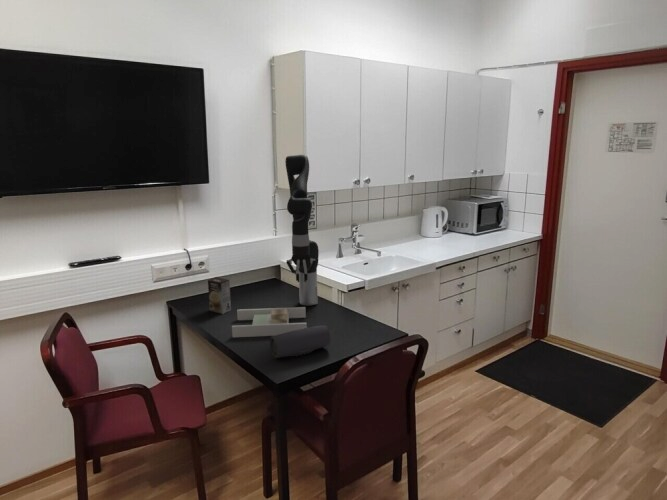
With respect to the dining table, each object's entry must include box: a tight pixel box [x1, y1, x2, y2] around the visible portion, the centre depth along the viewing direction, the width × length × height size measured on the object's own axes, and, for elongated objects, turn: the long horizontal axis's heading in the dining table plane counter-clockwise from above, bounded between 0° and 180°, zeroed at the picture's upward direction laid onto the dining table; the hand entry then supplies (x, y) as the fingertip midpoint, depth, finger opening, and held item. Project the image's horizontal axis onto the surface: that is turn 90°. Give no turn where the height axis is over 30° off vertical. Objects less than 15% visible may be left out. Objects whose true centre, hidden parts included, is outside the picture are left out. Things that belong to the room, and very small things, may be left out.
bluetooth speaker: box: [269, 324, 331, 359], centre depth 184 cm, size 23×9×10 cm, turn 118°
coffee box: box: [207, 276, 232, 315], centre depth 230 cm, size 9×6×16 cm
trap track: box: [231, 306, 308, 338], centre depth 211 cm, size 32×20×5 cm, turn 95°
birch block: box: [271, 309, 287, 323], centre depth 211 cm, size 7×6×4 cm
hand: (301, 281), depth 208 cm, fingers open, 2 cm apart
